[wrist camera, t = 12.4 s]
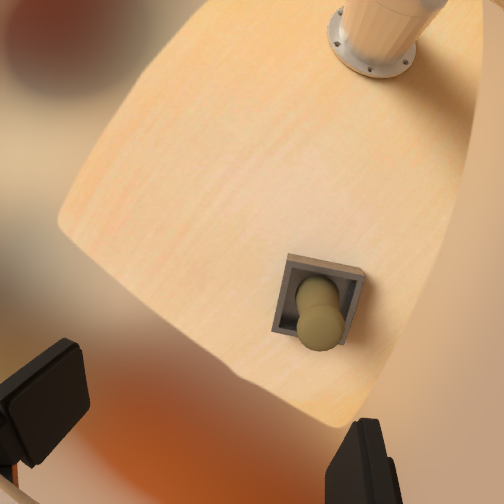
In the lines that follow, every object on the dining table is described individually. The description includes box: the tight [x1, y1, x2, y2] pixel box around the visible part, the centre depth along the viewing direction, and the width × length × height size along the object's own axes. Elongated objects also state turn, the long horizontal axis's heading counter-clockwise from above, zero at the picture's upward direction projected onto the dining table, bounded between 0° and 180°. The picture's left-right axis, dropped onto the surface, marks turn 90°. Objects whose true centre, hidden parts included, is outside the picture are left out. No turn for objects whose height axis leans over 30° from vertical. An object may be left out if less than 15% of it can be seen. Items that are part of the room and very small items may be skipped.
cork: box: [295, 276, 345, 351], centre depth 36 cm, size 6×6×11 cm
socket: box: [271, 253, 365, 345], centre depth 40 cm, size 10×10×4 cm
